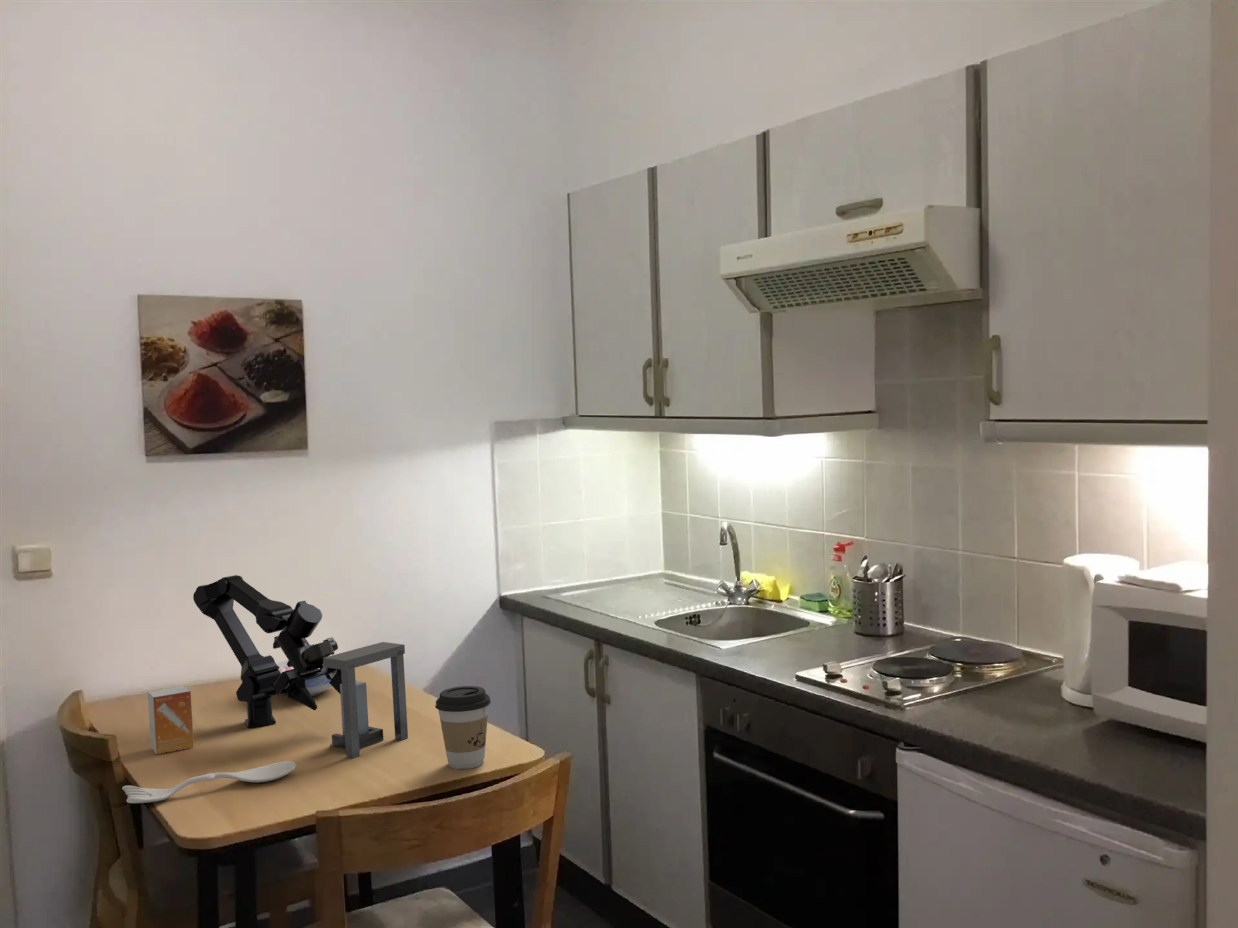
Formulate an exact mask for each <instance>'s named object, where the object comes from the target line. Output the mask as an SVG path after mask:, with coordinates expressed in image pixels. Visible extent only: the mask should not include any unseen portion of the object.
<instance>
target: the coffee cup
mask: <svg viewBox="0 0 1238 928" xmlns="http://www.w3.org/2000/svg"><path fill="white" fill-rule="evenodd" d="M491 703H492V701H491V697H490V695H489V694H487V693H486V690H485V688H483V687H482V686H476V685H462V686H454V687H448V688H446V689H443V690H442V691H441V692H440V693H439V697H438V698H437V699H436V700H435V709H437V711H438V715H439V720H440V726H441V727H440V728H441V732H442V737H443V738H442V739H443V742H444V743H443V744H444V748H445V754H446V758H447V759H446V760H447V763H448V765H449V766H448V767H449V768H450V769H451V768H452V769H456V770H469V769H475V768H478V767H480V766H483V764H484V763H485V761H484V759H485V758H486V757H485V755H486V745H487V744H486V743H487V730H488V719H489V716H488V715H489V706H490V705H491Z"/></svg>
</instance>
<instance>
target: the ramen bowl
mask: <svg viewBox="0 0 1238 928" xmlns="http://www.w3.org/2000/svg"><path fill="white" fill-rule="evenodd" d="M288 661H289V660H288V659H287V660H284V661H280V662H275V663H276V664H277V666H279V667H280V668H279V671H280V673H282V672H284V671H287V670H291V669H294V668H293V666H292V667H288V666H287V663H288ZM323 667H324V665H323ZM330 681H331V680H329V679H327V677H326V676H325V675H324V676H320V677H317V678H313V679H310V680H306V681H305V686H306V688H307V690H308V691H309V693H310V694H311V696H312V697H316V696H317V695H320V694H321V693H322V692H324V691H326V690H328V689H331V688H333V686H332V685H331V684H330V683H329V682H330Z"/></svg>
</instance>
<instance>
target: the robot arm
mask: <svg viewBox="0 0 1238 928" xmlns="http://www.w3.org/2000/svg"><path fill="white" fill-rule="evenodd" d="M192 599H193V602H194V604H195V605H196V607H197V608H198V609H199V610H200V612H201V613H202V614H203V615H204V616H206V617H208V618H210V619H212V620H213V621H214V622H215V623H216V625H217V627H218V629H219V631H220V632H221V634H222V635H223V637H224V639H225V641H226V642H227V644H228V645H229V647H230V649H231V651H232V653H233V654H234V656H235V658H236V660H237V661H238V662H239V664H240V666H241V668H240V680H241V684H240V685H239V687H238V688H237V690H236V692H235V695H236V698H237V701H239V702H244V703H246V713H247V714H246V715H247V718H246V719H244V722H245V725H246V727H247V728H254V727H261V726H267V725H274V724H277V721H276V719H275V717H274V715H273V703H272V697H273V696H277V697H280V696H283V698H289V699H292V700H294V701H296V702H298V703H300V704H302V705H303V706H305V707H308V708H309V709H311V710H313V711H316V710H317V709H318V705H317V703H316V701H315V700H314V699H315V698H313V696H311V694H310V693H309V691H308V690H307V688H306V686H305V681H306V680H310V679H313V678H317V677H320V676H324V675H325V676H326V677H327V679H329V680H331V681H330V682H329V683H330V684H331V685H332V688H333V689H334V690H335V691H336V692H337V693H338V694H339V695H340V685H341V684H342V676H341V670H340V669H333V668H327V667H323V658H324V657H328V656H332V655H336V654H335V651H337V650H338V649H339V646H338V643H337V640H336V639H335V638H334V637H333V636H332V637H328V638H326V639H323V640H322V642H318V643H315V644H314V643H313V644H310V643H309V641H308V640H307V638H309V637H311V635H312V634H313V633H314V631H315V630H316V628H317V627H318V625H319V623H320V622H321V620H322V619H323V613H322V611H321V610H320V609H319V608H318V607H317V606H315V605H313V604H310V603H308V602H307V601H306V600H301V601H298V602H296V605H295V606H294V609H293V607H292V606H291V605H289V604H286V602H285V603H284V602H282V601H278V600H272V599H270V598H268V596H265V595H264V594H263V593H262V592H260V591H259V590H257V589H256V588H255V587H253V586H252V585H250V584H249V583H248V582H246V581H245V580H244V578H243V577H242V576H241V575H238V574H237V575H236V574H234V575H229V576H224V577H221V578H220V579H218V580H216V581H214V582H212V583H209V584H202V585H199V586H197V587H196V589H195V591H194V593H193V596H192ZM234 602H236V603H237V604H239V606H242V607H243V608H244V609H246V610H247V611H248V612H249V613H251V614H252V615H253V616H254V617H255V622H256V623H255V624H257V625H258V626H259V627H260V629H261V630H262V631H263V632H264V633H265V634H272V633H278V632H279V634H278V635H277V636H274V637H273V638H274V641H273V643H272V648H273V650H276V649H281V650H282V652H283V653H284V655H285V657H286V658H287V660H289V661H288V663H287V666H288V667H292V666H293V668H294V669H291V670H287V671H284V672H282V673H280V671H279V668H280V667H279V666H277V664H276V663H277V662H276V661H275V659H274V657H273V656H272V655H270V654H269V655H266V656H264V655H262V654H261V653H260V652H259V649H257V647H256V644H255V643H254V641H253V639H252V638H251V637H250V634H248V631H247V630H246V628H245V627H244V624H243V623H242V622H241V620H240V617H239V616H238V615H237V614H236V612H235V610H234Z"/></svg>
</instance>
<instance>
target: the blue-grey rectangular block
mask: <svg viewBox="0 0 1238 928" xmlns="http://www.w3.org/2000/svg"><path fill="white" fill-rule="evenodd" d="M355 681H356V698H357V715H358V732H359V735H362V734H365V733H368V732H369V727H370V726H369V711H368V694H367V691H368V690H367V682H365V681H359V680H355ZM339 697H340V707H341V708H340V710H341V711H340V713H341V724H342V725H341V726H342V727H341V728H342V735H345V726H344V710H343V693H342V684H341V685H340V694H339Z"/></svg>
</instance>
